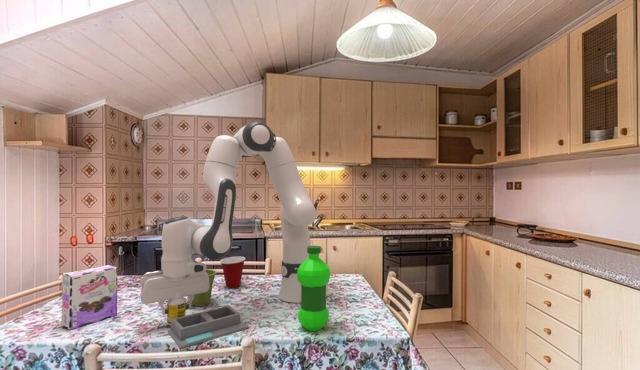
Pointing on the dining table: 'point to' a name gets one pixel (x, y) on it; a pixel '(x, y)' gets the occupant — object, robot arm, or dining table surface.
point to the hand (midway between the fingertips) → (176, 311)
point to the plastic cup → (232, 270)
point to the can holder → (205, 326)
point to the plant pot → (205, 297)
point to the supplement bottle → (176, 308)
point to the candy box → (89, 296)
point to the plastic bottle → (313, 290)
